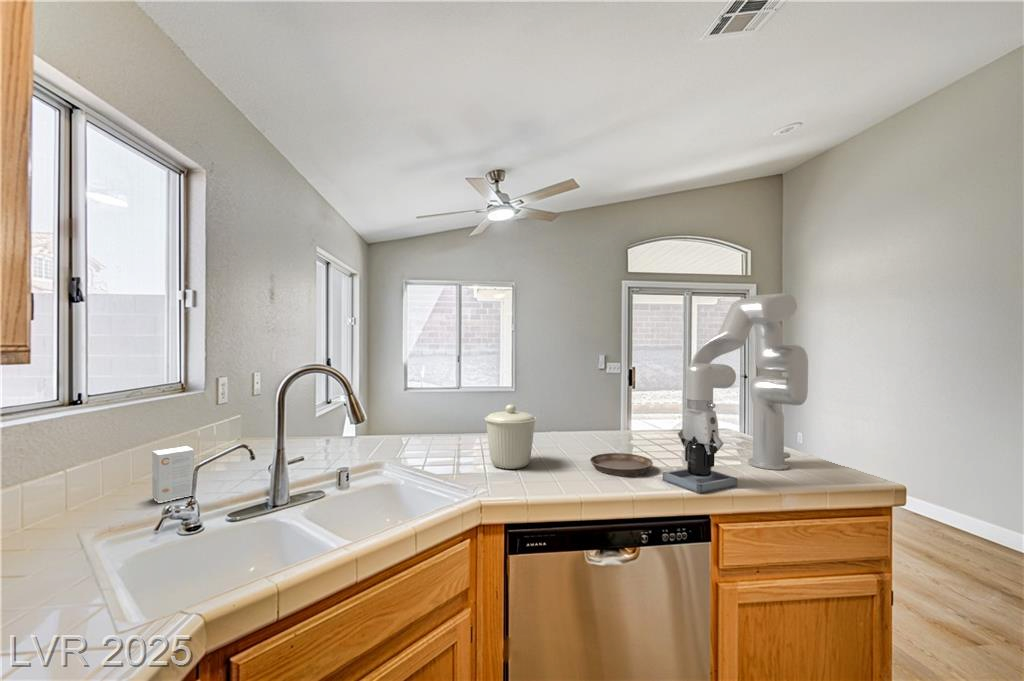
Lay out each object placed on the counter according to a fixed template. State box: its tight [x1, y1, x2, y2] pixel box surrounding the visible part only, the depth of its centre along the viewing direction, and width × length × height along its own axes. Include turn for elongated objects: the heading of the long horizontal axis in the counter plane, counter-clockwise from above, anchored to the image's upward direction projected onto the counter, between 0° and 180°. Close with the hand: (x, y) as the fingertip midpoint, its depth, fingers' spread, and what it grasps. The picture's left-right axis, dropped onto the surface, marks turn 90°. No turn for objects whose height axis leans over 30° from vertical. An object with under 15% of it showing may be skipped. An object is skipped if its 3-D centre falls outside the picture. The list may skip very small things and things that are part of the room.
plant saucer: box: [589, 452, 654, 476], centre depth 155 cm, size 21×21×3 cm
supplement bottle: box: [686, 437, 712, 477], centre depth 139 cm, size 7×7×12 cm
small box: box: [151, 445, 195, 501], centre depth 123 cm, size 8×6×13 cm
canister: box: [484, 404, 538, 470], centre depth 158 cm, size 18×18×21 cm
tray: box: [662, 468, 738, 495], centre depth 139 cm, size 16×14×2 cm
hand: (699, 463), depth 139 cm, fingers closed on supplement bottle, 6 cm apart
